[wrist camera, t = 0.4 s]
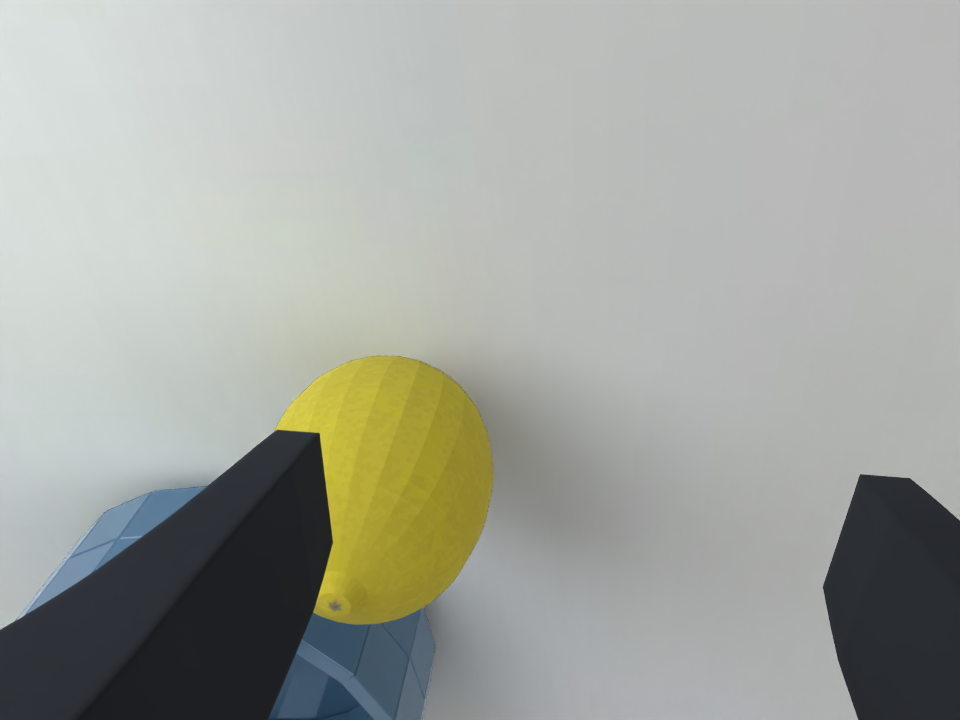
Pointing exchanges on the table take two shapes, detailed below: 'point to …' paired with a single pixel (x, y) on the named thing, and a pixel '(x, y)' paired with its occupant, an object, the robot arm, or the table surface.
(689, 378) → the table surface
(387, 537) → the lemon
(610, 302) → the table surface
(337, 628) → the bowl
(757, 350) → the table surface
